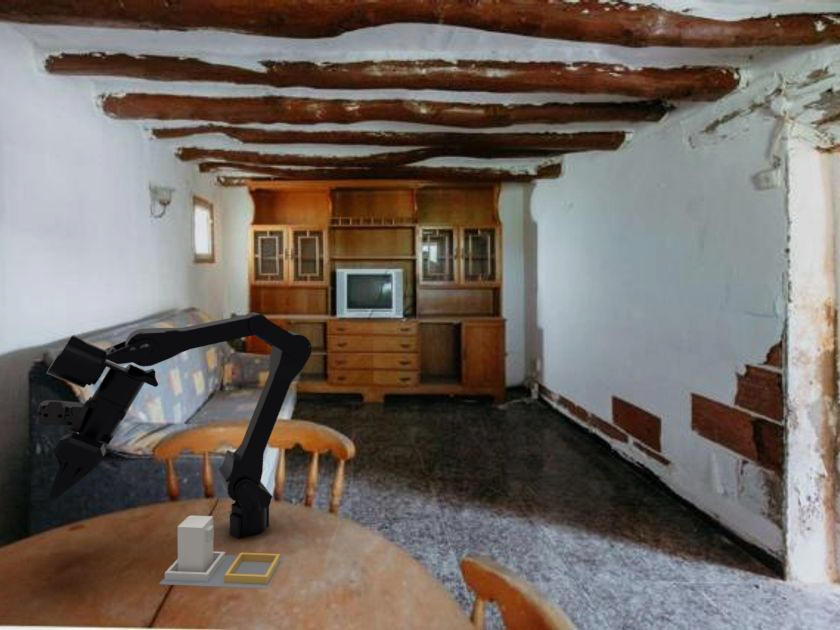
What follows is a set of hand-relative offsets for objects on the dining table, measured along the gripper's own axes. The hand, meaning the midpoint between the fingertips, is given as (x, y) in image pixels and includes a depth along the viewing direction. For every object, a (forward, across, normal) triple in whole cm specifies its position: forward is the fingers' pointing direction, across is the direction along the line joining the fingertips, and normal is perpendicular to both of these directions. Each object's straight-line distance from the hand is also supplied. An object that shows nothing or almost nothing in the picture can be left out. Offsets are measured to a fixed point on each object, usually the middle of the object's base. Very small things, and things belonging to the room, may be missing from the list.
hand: (58, 489), depth 83 cm
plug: (+3, +6, +24) cm, 25 cm away
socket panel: (+1, +8, +28) cm, 29 cm away
